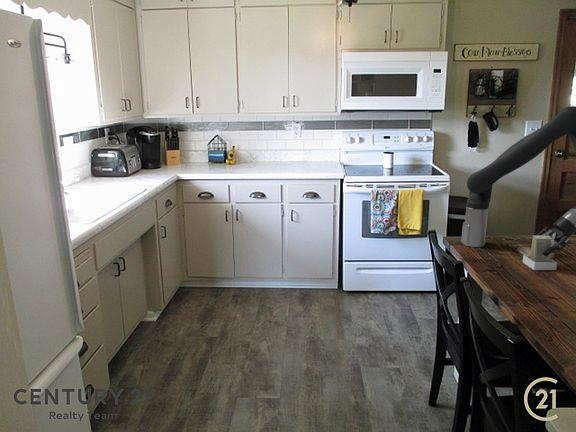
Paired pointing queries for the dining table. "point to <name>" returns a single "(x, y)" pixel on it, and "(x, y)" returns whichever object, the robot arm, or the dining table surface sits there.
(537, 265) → the gray square frame
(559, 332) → the dining table surface
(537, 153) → the robot arm
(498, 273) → the dining table surface
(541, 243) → the skincare box
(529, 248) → the birch board
